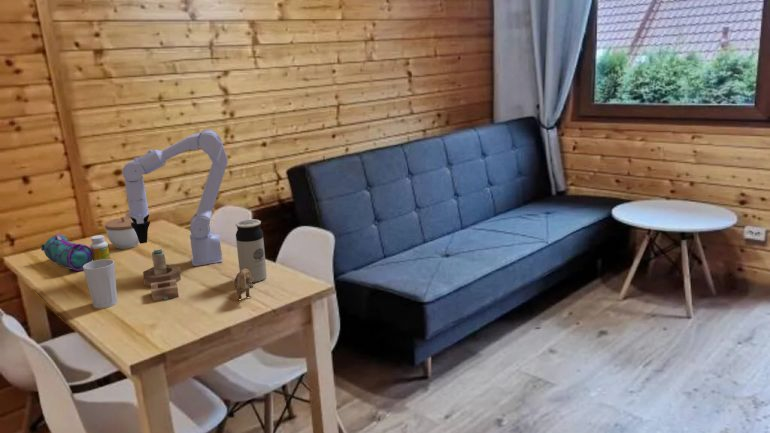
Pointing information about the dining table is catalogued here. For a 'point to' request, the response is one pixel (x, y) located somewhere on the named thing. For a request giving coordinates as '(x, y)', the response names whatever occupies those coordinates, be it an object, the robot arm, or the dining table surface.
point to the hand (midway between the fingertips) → (143, 239)
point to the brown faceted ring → (171, 274)
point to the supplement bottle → (99, 248)
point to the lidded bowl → (122, 233)
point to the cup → (101, 282)
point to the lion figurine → (243, 282)
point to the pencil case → (67, 252)
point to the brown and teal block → (159, 262)
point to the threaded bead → (164, 290)
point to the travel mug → (251, 248)
